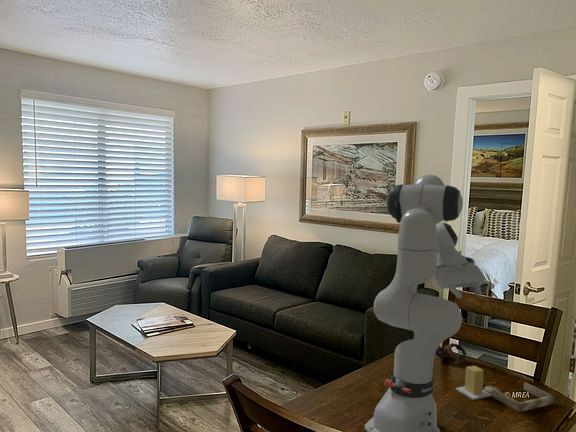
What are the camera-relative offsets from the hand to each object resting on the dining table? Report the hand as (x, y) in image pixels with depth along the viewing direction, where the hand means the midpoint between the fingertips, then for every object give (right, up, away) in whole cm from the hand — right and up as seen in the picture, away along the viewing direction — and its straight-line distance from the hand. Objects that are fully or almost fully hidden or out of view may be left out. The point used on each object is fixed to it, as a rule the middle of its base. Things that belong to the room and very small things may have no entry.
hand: (469, 296), depth 161 cm
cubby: (+12, -33, -12) cm, 37 cm away
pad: (-2, -32, -8) cm, 33 cm away
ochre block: (-2, -31, -8) cm, 32 cm away
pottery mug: (-1, -30, +19) cm, 36 cm away
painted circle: (+5, -32, -6) cm, 33 cm away
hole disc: (+2, -32, -1) cm, 32 cm away
